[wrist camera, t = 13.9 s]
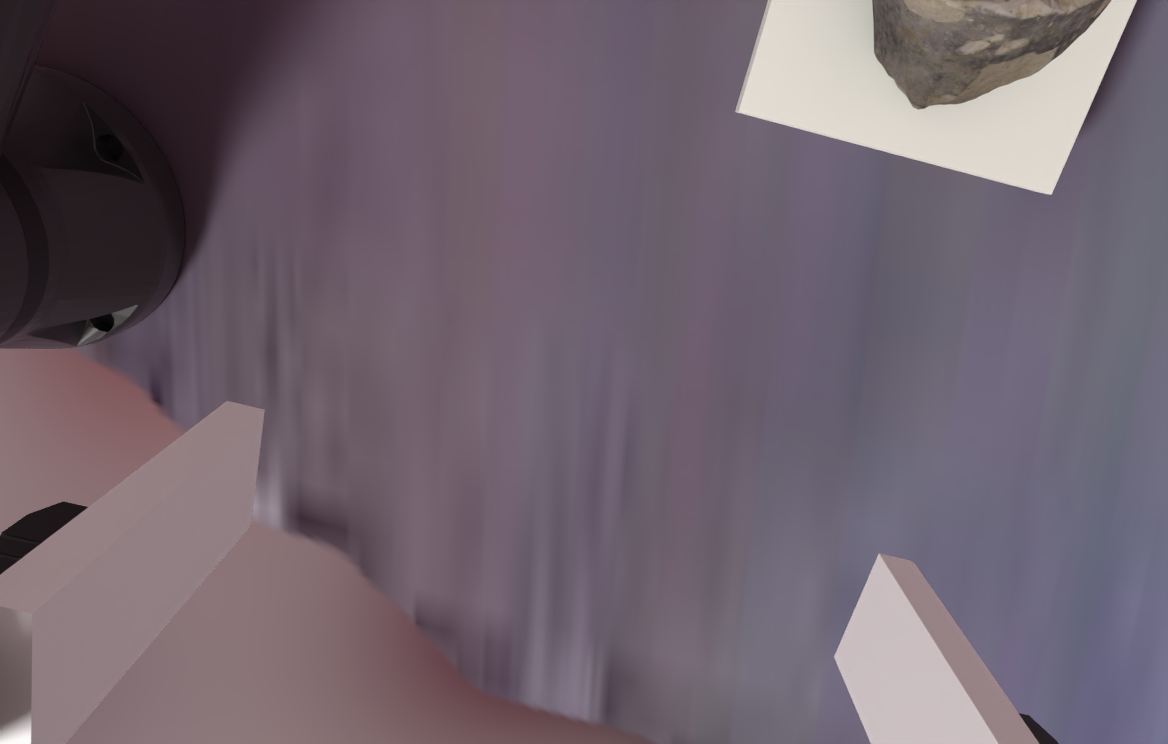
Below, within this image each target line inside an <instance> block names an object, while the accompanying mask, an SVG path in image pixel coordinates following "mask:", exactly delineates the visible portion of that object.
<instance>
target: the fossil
mask: <svg viewBox="0 0 1168 744" xmlns="http://www.w3.org/2000/svg"><path fill="white" fill-rule="evenodd" d="M1110 2H1111V0H872V5H873V22H874V53H875V56H876V58H877V60H878V61H879V62H880V63H881V64H882V66H883V67H884V69H885V71H886V72H887V74H888V76H890V77H891V78H893V79H894V81H895V83H896V85H897V87H898V88H899V89H900V90H901V91H902V92H903V93H904V94H905V95H906V96H907V98H908V100H909V102H910V103H911V105H912V107H914V108H916V109H918V110H919V109H925V108H927V107H929V106H933V105H948V104H961V103H965V102H967V101H970V100H973V99H976V98H978V97H979V96H981V95H983V94H986V93H989V92H990V91H992V90H994V89H996V88H998V87H1001V86H1004V85H1008V84H1010V83H1012V82H1014V81H1017V80H1020V79H1023V78H1026V77H1030V76H1031V75H1033V74H1035V73H1037V72H1038V71H1040V70H1041V69H1042V68H1044V67H1045V66H1046V65H1047V64H1049V63H1050V62H1051V61H1052V60H1054V59H1055V58H1057V57H1058V56H1059V55H1061V54H1062V53H1063V52H1064V51H1065V50H1066V49H1067V48H1068V47H1069V46H1070V45H1071V44H1072V43H1073V42H1074V41H1075V40H1076V39H1077V38H1078V37H1079V36H1081V35H1082V34H1083V33H1085V32H1086V30H1087V29H1088V28H1089V27H1090V26H1091V25H1092V23H1093V22H1094V21H1095V20H1096V19H1097V18H1098V17H1099V16H1100V14H1101V13H1102V12H1103V11H1104V10H1105V8H1106V7H1107V6H1108V4H1109V3H1110Z"/></svg>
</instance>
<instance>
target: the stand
mask: <svg viewBox="0 0 1168 744" xmlns="http://www.w3.org/2000/svg"><path fill="white" fill-rule="evenodd" d="M1136 1H1137V0H1111V2H1110V3H1109V4H1108V6H1107V7H1106V8H1105V10H1104V11H1103V12H1102V13H1101V14H1100V16H1099V17H1098V18H1097V19H1096V20H1095V21H1094V22H1093V23H1092V25H1091V26H1090V27H1089V28H1088V29H1087V30H1086V32H1085V33H1083V34H1082V35H1081V36H1079V37H1078V38H1077V39H1076V40H1075V41H1074V42H1073V43H1072V44H1071V45H1070V46H1069V47H1068V48H1067V49H1066V50H1065V51H1064V52H1063V53H1062V54H1061V55H1059V56H1058V57H1057V58H1055V59H1054V60H1052V61H1051V62H1050V63H1049V64H1047V65H1046V66H1045V67H1044V68H1042V69H1041V70H1040V71H1038V72H1037V73H1035V74H1033V75H1031V76H1030V77H1026V78H1023V79H1020V80H1017V81H1014V82H1012V83H1010V84H1008V85H1004V86H1001V87H998V88H996V89H994V90H992V91H990V92H989V93H986V94H983V95H981V96H979V97H978V98H976V99H973V100H970V101H967V102H965V103H961V104H948V105H933V106H929V107H927V108H925V109H919V110H918V109H916V108H914V107H912V105H911V103H910V102H909V100H908V98H907V96H906V95H905V94H904V93H903V92H902V91H901V90H900V89H899V88H898V87H897V85H896V83H895V81H894V79H893V78H891V77H890V76H888V74H887V72H886V71H885V69H884V67H883V66H882V64H881V63H880V62H879V61H878V60H877V58H876V56H875V53H874V22H873V5H872V0H768V3H767V6H766V9H765V13H764V16H763V19H762V23H761V26H760V30H759V33H758V36H757V40H756V43H755V46H754V50H753V53H752V57H751V60H750V63H749V67H748V70H747V73H746V77H745V80H744V84H743V87H742V90H741V94H740V97H739V100H738V104H737V107H736V111H735V112H738V113H741V114H745V115H749V116H753V117H757V118H760V119H764V120H768V121H772V122H775V123H779V124H783V125H787V126H790V127H794V128H798V129H802V130H806V131H809V132H813V133H817V134H821V135H824V136H828V137H832V138H836V139H839V140H843V141H847V142H851V143H854V144H858V145H862V146H866V147H870V148H873V149H877V150H881V151H885V152H888V153H892V154H896V155H900V156H903V157H907V158H911V159H915V160H918V161H922V162H926V163H930V164H934V165H937V166H941V167H945V168H949V169H952V170H956V171H960V172H964V173H967V174H971V175H975V176H979V177H983V178H986V179H990V180H994V181H998V182H1001V183H1005V184H1009V185H1013V186H1016V187H1020V188H1024V189H1028V190H1031V191H1035V192H1039V193H1044V194H1049V195H1051V194H1052V192H1053V190H1054V188H1055V185H1056V183H1057V181H1058V179H1059V176H1060V174H1061V172H1062V169H1063V167H1064V165H1065V163H1066V160H1067V158H1068V156H1069V153H1070V151H1071V149H1072V147H1073V144H1074V142H1075V140H1076V138H1077V135H1078V133H1079V131H1080V128H1081V126H1082V124H1083V122H1084V119H1085V117H1086V115H1087V113H1088V110H1089V108H1090V106H1091V103H1092V101H1093V99H1094V97H1095V94H1096V92H1097V90H1098V88H1099V85H1100V83H1101V81H1102V78H1103V76H1104V74H1105V72H1106V69H1107V67H1108V65H1109V63H1110V60H1111V58H1112V56H1113V53H1114V51H1115V49H1116V47H1117V44H1118V42H1119V40H1120V38H1121V35H1122V33H1123V31H1124V28H1125V26H1126V24H1127V22H1128V19H1129V17H1130V15H1131V12H1132V10H1133V8H1134V6H1135V3H1136Z"/></svg>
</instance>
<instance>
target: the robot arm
mask: <svg viewBox="0 0 1168 744" xmlns="http://www.w3.org/2000/svg"><path fill="white" fill-rule="evenodd" d="M58 1H59V0H0V348H1V349H3V348H4V349H66V348H74V347H80V346H84V345H88V344H93V343H96V342H99V341H102V340H104V339H106V338H108V337H111V336H113V335H115V334H117V333H120V332H122V331H124V330H126V329H129V328H130V327H132V326H134V325H136V324H138V323H139V322H141V321H142V320H144V319H145V318H146V317H147V316H149V315H150V314H151V313H152V312H153V311H154V310H155V309H156V308H157V307H158V306H159V305H160V304H161V302H162V301H163V300H164V299H165V297H166V296H167V294H168V293H169V291H170V289H171V288H172V286H173V284H174V282H175V280H176V277H177V274H178V272H179V269H180V265H181V262H182V257H183V252H184V243H185V222H184V213H183V207H182V202H181V198H180V194H179V191H178V188H177V185H176V182H175V179H174V177H173V174H172V172H171V170H170V168H169V165H168V163H167V161H166V159H165V158H164V156H163V154H162V152H161V151H160V149H159V148H158V146H157V145H156V143H155V141H154V140H153V139H152V137H151V136H150V135H149V133H148V132H147V131H146V130H145V128H144V127H143V126H142V125H141V124H140V123H139V122H138V120H137V119H136V118H135V117H134V116H133V115H132V114H131V113H130V112H129V111H127V110H126V109H125V108H124V107H123V106H122V105H121V104H120V103H118V102H117V101H116V100H115V99H113V98H112V97H111V96H109V95H108V94H106V93H105V92H103V91H102V90H100V89H99V88H97V87H95V86H94V85H92V84H90V83H88V82H86V81H84V80H82V79H80V78H78V77H76V76H73V75H71V74H68V73H65V72H63V71H59V70H56V69H53V68H48V67H44V66H38V65H35V63H36V60H37V57H38V55H39V52H40V49H41V46H42V44H43V41H44V38H45V36H46V33H47V30H48V28H49V25H50V22H51V20H52V17H53V14H54V12H55V9H56V6H57V4H58ZM264 411H265V410H264V409H259V408H255V407H251V406H246V405H242V404H238V403H234V402H229V401H226V402H225V403H224V404H222V405H221V406H220V407H218V408H217V409H216V410H215V411H213V412H212V413H211V414H209V415H208V416H207V417H205V418H204V419H203V420H202V421H200V422H199V423H198V424H196V425H195V426H194V427H192V428H191V429H190V430H188V431H187V432H186V433H185V434H183V435H182V436H181V437H179V438H178V439H177V440H175V441H174V442H173V443H172V444H170V445H169V446H168V447H166V448H165V449H164V450H162V451H161V452H160V453H159V454H157V455H156V456H155V457H153V458H152V459H151V460H149V461H148V462H147V463H146V464H144V465H143V466H142V467H140V468H139V469H138V470H136V471H135V472H134V473H132V474H131V475H130V476H128V477H127V478H126V479H125V480H123V481H122V482H121V483H119V484H118V485H117V486H116V487H114V488H113V489H112V490H110V491H109V492H108V493H106V494H105V495H104V496H102V497H101V498H100V499H98V500H97V501H96V502H95V503H93V504H92V505H91V506H89V507H85V506H81V505H76V504H72V503H67V502H61V503H58V504H55V505H52V506H50V507H47V508H44V509H41V510H39V511H36V512H33V513H30V514H28V515H26V516H25V517H23V518H22V519H21V520H19V521H18V522H16V523H15V524H13V525H12V526H11V527H9V528H8V529H6V530H5V531H3V532H2V533H1V536H0V744H65V743H66V742H67V741H68V740H69V739H70V737H71V736H72V735H73V734H74V733H75V732H76V730H77V729H78V728H79V727H80V726H81V724H82V723H83V722H84V721H85V720H86V719H87V717H88V716H89V715H90V714H91V713H92V712H93V710H94V709H95V708H96V707H97V705H98V704H99V703H100V702H101V701H102V700H103V699H104V698H105V696H106V695H107V694H108V693H109V692H110V690H111V689H112V688H113V687H114V686H115V685H116V683H117V682H118V681H119V680H120V678H122V676H123V675H124V674H125V673H126V672H127V671H128V669H129V668H130V667H131V666H132V665H133V663H134V662H135V661H136V660H137V659H138V658H139V656H140V655H141V654H142V653H143V652H144V651H145V649H146V648H147V647H148V646H149V645H150V643H151V642H152V641H153V640H154V639H155V638H156V637H157V635H158V634H159V633H160V632H161V631H162V629H163V628H164V627H165V626H166V625H167V624H168V622H169V621H170V620H171V619H172V617H174V615H175V614H176V613H177V612H178V611H179V609H180V608H181V607H182V606H183V605H184V604H185V602H186V601H187V600H188V599H189V598H190V597H191V595H192V594H193V593H194V592H195V591H196V590H197V588H198V587H199V586H200V585H201V584H202V583H203V581H204V580H205V579H206V578H207V577H208V575H209V574H210V573H211V572H212V571H213V569H214V568H215V567H216V566H217V565H218V564H219V563H220V561H221V560H222V559H223V558H224V557H225V556H226V554H227V553H228V552H229V551H230V550H231V548H232V547H233V546H234V545H235V544H236V543H237V541H238V540H239V539H240V538H241V537H242V536H243V534H244V533H245V532H246V531H247V530H248V529H249V527H250V526H251V520H252V512H253V503H254V495H255V487H256V478H257V470H258V462H259V453H260V445H261V437H262V428H263V420H264ZM834 658H835V660H836V663H837V665H838V667H839V670H840V672H841V674H842V677H843V679H844V681H845V684H846V686H847V688H848V691H849V693H850V695H851V698H852V700H853V702H854V705H855V707H856V710H857V712H858V714H859V717H860V719H861V721H862V724H863V726H864V728H865V731H866V733H867V735H868V738H869V740H870V742H871V744H1058V742H1057V741H1056V740H1055V739H1054V738H1053V737H1052V736H1051V735H1050V734H1048V733H1047V732H1046V731H1045V730H1044V729H1043V728H1042V727H1041V726H1040V725H1039V724H1038V723H1037V722H1035V721H1034V720H1033V719H1032V718H1031V717H1030V716H1029V715H1024V714H1020V713H1018V712H1017V711H1016V709H1015V708H1014V706H1013V705H1012V703H1011V702H1010V701H1009V699H1008V698H1007V696H1006V695H1005V693H1004V692H1003V690H1002V689H1001V688H1000V686H999V685H998V683H997V682H996V680H995V679H994V677H993V676H992V675H991V673H990V672H989V670H988V669H987V667H986V666H985V664H984V663H983V662H982V660H981V659H980V657H979V656H978V654H977V653H976V651H975V650H974V649H973V647H972V646H971V644H970V643H969V641H968V640H967V638H966V637H965V636H964V634H963V633H962V631H961V630H960V628H959V627H958V626H957V624H956V623H955V621H954V620H953V618H952V617H951V615H950V614H949V613H948V611H947V610H946V608H945V607H944V605H943V604H942V602H941V601H940V600H939V598H938V597H937V595H936V594H935V592H934V591H933V589H932V588H931V587H930V585H929V584H928V582H927V581H926V579H925V578H924V576H923V575H922V574H921V572H920V571H919V569H918V568H917V566H916V565H915V564H914V562H913V561H909V560H905V559H901V558H896V557H892V556H888V555H883V554H879V555H878V557H877V559H876V561H875V564H874V566H873V568H872V571H871V573H870V575H869V578H868V580H867V582H866V585H865V587H864V589H863V592H862V594H861V596H860V598H859V601H858V603H857V605H856V608H855V610H854V612H853V615H852V617H851V619H850V622H849V624H848V626H847V629H846V631H845V633H844V635H843V638H842V640H841V642H840V645H839V647H838V649H837V652H836V654H835V656H834Z"/></svg>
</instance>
